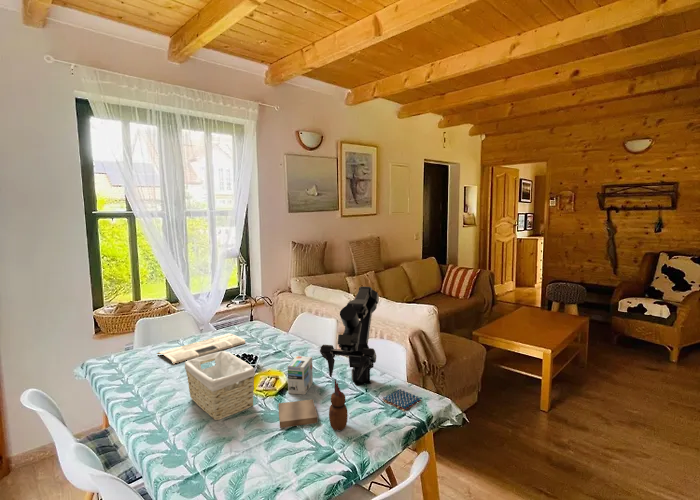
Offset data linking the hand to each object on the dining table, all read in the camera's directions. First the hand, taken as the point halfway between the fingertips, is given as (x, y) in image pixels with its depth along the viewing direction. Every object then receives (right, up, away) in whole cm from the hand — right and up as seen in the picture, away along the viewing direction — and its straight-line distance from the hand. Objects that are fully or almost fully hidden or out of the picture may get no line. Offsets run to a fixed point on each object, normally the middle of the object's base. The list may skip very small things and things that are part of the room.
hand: (343, 377), depth 128 cm
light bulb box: (-17, -11, +22) cm, 30 cm away
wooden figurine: (-2, -14, -5) cm, 15 cm away
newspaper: (-71, -8, +66) cm, 97 cm away
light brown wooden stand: (-15, -13, +2) cm, 20 cm away
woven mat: (+20, -13, +11) cm, 26 cm away
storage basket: (-44, -13, +11) cm, 47 cm away
